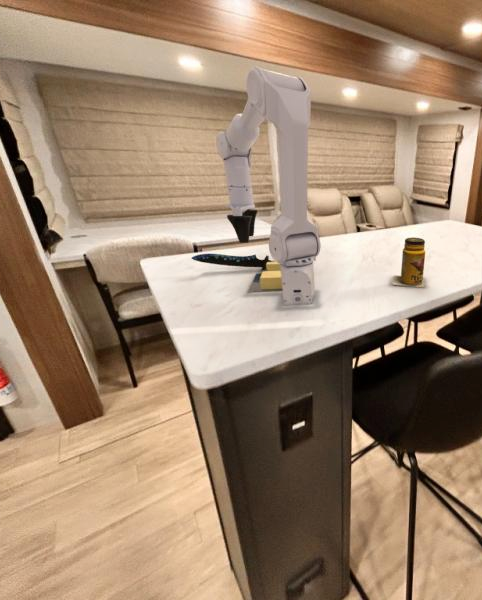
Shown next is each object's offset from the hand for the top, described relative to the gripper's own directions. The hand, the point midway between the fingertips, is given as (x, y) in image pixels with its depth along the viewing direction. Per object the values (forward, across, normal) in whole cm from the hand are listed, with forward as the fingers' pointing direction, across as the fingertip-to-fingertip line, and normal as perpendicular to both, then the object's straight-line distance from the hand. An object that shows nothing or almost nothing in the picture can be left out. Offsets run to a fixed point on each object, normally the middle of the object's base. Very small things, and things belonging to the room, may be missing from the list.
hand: (247, 239), depth 84 cm
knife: (+9, 0, 0) cm, 9 cm away
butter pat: (+9, +5, +8) cm, 13 cm away
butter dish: (+9, +11, +8) cm, 17 cm away
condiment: (+10, +13, +43) cm, 46 cm away
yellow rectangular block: (+9, +14, +8) cm, 18 cm away
